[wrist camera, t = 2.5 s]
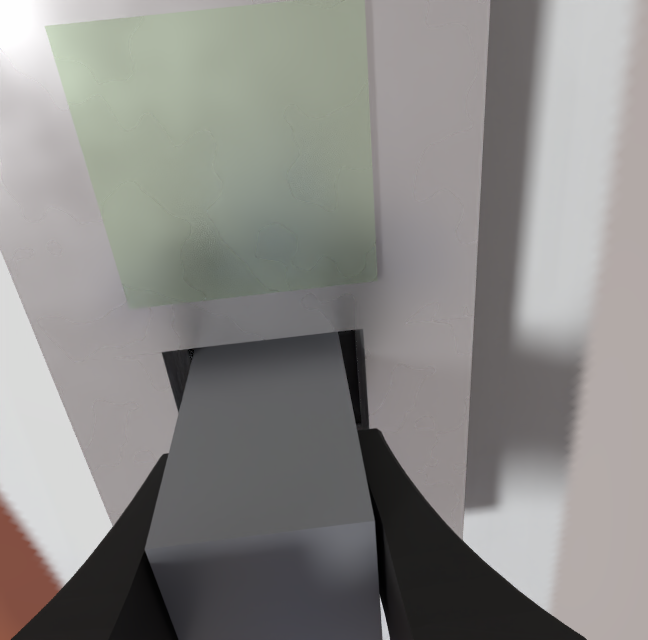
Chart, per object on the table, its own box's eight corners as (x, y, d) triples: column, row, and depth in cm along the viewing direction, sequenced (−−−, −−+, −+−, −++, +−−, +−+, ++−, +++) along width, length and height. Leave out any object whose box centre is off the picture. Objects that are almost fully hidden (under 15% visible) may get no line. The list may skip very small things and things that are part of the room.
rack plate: (442, 502, 21) (463, 563, 19) (156, 538, 21) (140, 604, 18) (459, -183, 11) (507, -237, 9) (-82, -132, 11) (-179, -174, 9)
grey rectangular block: (342, 412, 18) (383, 652, 11) (224, 426, 18) (192, 677, 11) (333, 308, 16) (374, 521, 9) (200, 323, 16) (144, 549, 9)
